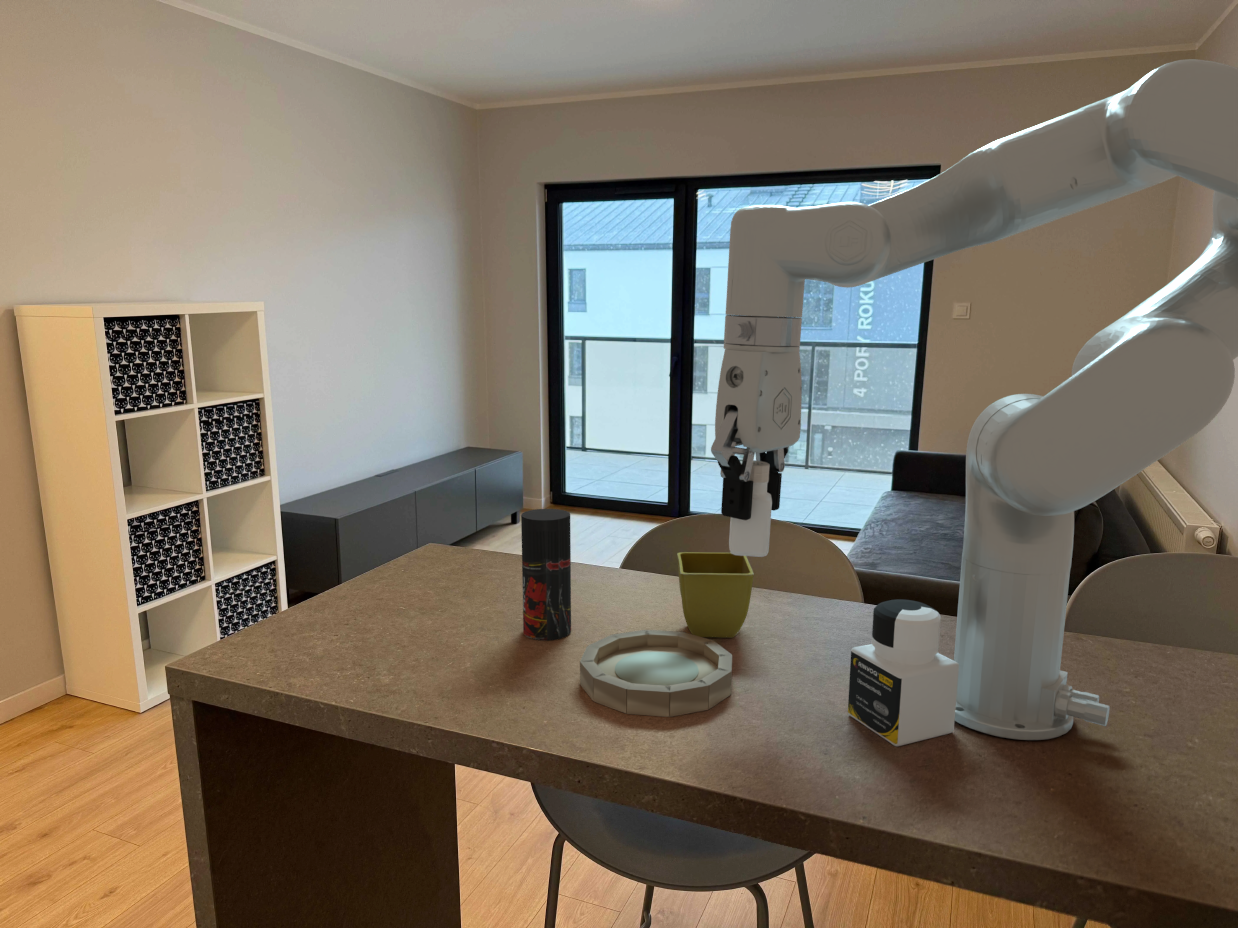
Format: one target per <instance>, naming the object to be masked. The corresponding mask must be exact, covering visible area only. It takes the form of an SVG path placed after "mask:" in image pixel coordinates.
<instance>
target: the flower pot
mask: <svg viewBox="0 0 1238 928" xmlns="http://www.w3.org/2000/svg"><path fill="white" fill-rule="evenodd" d="M676 555H677V567H678V568H677V570H678V582H679V583H678V584H679V591H680V598H681V604H682V606H681V607H682V613H683V615H684V616H683V617H684V620H685V623H686V625H687V628H688V629H689V632H690V634H692V635H696V636H699V637H703V638H726V639H727V638H728V639H729V638H730V639H732V638H735V636H736V635H738V633H739V632H740V630H741V629H742V627H743V625H744V624H745V621H746V618H747V615H748V613H749V608H750V602H751V595H752V590H753V583H754V576H755V575H754V574H755V573H754V570H753V568H752V566H751V563H750V561H749V559H748V556H740V555H734V554H731V552H697V551H695V552H692V551H691V552H690V551H689V552H687V551H684V552H682V551H681V552H677V554H676Z"/></svg>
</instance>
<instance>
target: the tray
mask: <svg viewBox="0 0 1238 928" xmlns="http://www.w3.org/2000/svg"><path fill="white" fill-rule="evenodd" d="M732 668H733V654H732V653H730V651H728V650H727V649H725V648H724V647H723V646H722V645H720V644H718V643H717V642H716V641H715V640H713V639H709V638H707V637H699V636H696V635H692V634H691V633H689V632H688V633H687V632H684V631H674V630H661V629H660V630H659V629H658V630H657V629H641V630H633V631H628V632H620V633H613V634H610V635H607V636H606V637H603V638H601V639H599V640H597V641H595V642H592V643H590V644H588V645H587V646H586V648H585V650H584V652H583V654H582V656H581V658H580V660H579V685H580V686H581V688H582V689H583V690H584V691H585V693H586V694H587V695H588V696H589V698H590V699H591V700H592V701H593V702H595V704H596V703H597V704H599V705H603V706H605V707H608V708H610V709H613V710H615V711H618V712H621V713H623V714H627V715H636V716H637V715H638V716H651V717H664V718H665V717H667V718H672V717H677V716H681V715H686V714H693V713H698V712H702V711H708V710H711V708H714V707H715V706H716V705H718V704H720V703H721V702H722V701H724V700H725V699H727V698H728V697H729V696H731V695H732V679H733V678H732V674H733V672H732V671H733V669H732Z"/></svg>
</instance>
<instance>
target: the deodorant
mask: <svg viewBox="0 0 1238 928" xmlns="http://www.w3.org/2000/svg"><path fill="white" fill-rule="evenodd" d="M520 516H521V519H520V521H521V524H520V525H521V527H520V528H521V567H522V568H521V569H522V571H521V574H522V577H521V578H522V580H521V582H522V626H523V627H522V631H523V632H522V633H523V635H524V636H525V637H526V638H528V639H531V640H536V641H544V642H545V641H547V642H548V641H558V640H561V639H563V638H566V637H568V636H569V635H571V633H572V577H571V576H572V571H571V570H572V568H571V567H572V566H571V565H572V559H571V557H572V555H571V552H572V551H571V549H572V548H571V513H570V512H569V511H567V510H564V509H557V508H539V509H538V508H536V509H531V510H527V511H524V512H522V513H521V514H520Z"/></svg>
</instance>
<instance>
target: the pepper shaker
mask: <svg viewBox="0 0 1238 928" xmlns="http://www.w3.org/2000/svg"><path fill="white" fill-rule="evenodd" d="M739 461H740V463H741V465H742V461H743V460H739ZM769 467H770V464H768V463H767V462H762V461H756V460H753V464H752V469H751V474H750V478H749V480H750V481H753V495H752V510H751V518H750V519H748V520H741V519H737V518H732V517H729V518H730V520H729V521H730V523H729V537H728V538H729V539H728V548H729V553H731V554H734V555H740V556H747V557H755V558H756V557H759V558H763V557H766V556H767V555H768V553H769V551H770V549H769V548H770V539H771V538H770V537H771V535H770V534H771V522H772V521H771V520H772V519H771V518H772V510H771V509H772V497H771V494H770V493H767V483H768V482H769V481H768V480H769Z"/></svg>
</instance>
